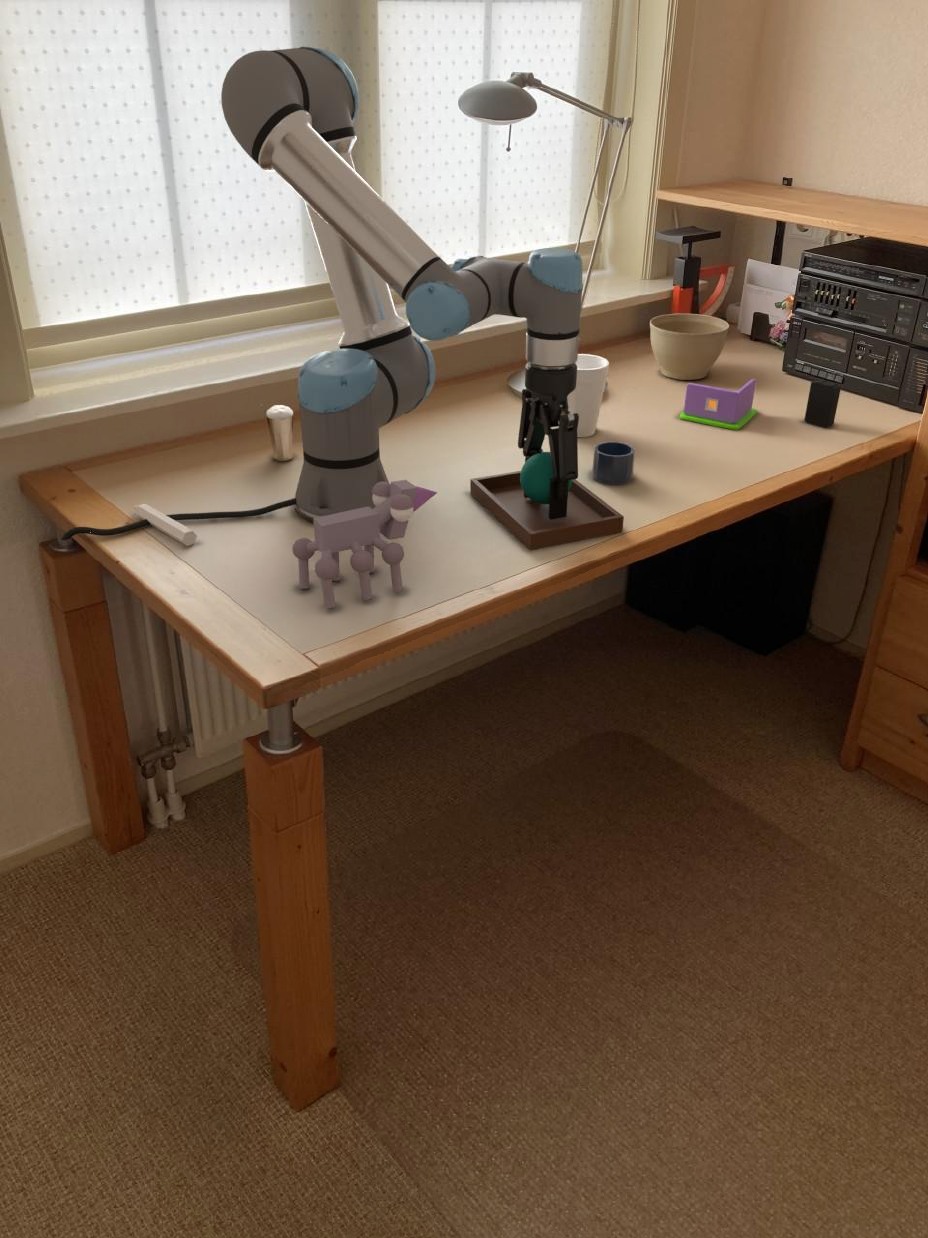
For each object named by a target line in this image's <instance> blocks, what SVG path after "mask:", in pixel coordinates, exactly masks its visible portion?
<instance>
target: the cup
mask: <svg viewBox="0 0 928 1238" xmlns="http://www.w3.org/2000/svg"><path fill="white" fill-rule="evenodd" d="M635 455H636V450H635V447H634V446H632V445H631V444H629V443H625V442H623V441H622V442H621V441H603V442H600V443H597V444H595V446H594V447H593V459H592V460H593V461H592V478H593V479H594V480H595V481H597V482H598V483H600V484H604V485H613V486H614V485H615V486H619V485H625V484H628V483H630V482H631V481H632V480H633V476H634V466H635V458H636V457H635Z"/></svg>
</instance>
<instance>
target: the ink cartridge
mask: <svg viewBox="0 0 928 1238" xmlns="http://www.w3.org/2000/svg"><path fill="white" fill-rule="evenodd" d="M809 387H810V388H809V391H808V398H807V404H806V409H805V415H804V418H803V419H804V422H805V423H807V424H810V425H813V426H817V427H820V428H825V429H828V428H830V427H831V426H833V425H834V424H835V419H836V414H837V409H838V404H839V400H840V394H841V391H842V390H841V385H839V384H838V383H836V382H831V381H827V380H825V379H815V380H813V381H811V382H810V386H809Z"/></svg>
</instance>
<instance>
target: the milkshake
mask: <svg viewBox="0 0 928 1238" xmlns="http://www.w3.org/2000/svg"><path fill="white" fill-rule="evenodd" d="M260 406H261V408H262V410H263V411H264V413H265V416H266V421H267V425H268V430H269V436H270V442H271V446H272V454H273V458H274V460H276V461H278V462H287V461H290V460H292V459H293V458H294V454H293V453H294V452H293V451H294V449H293V448H294V445H293V442H294V439H293V437H294V436H293V435H294V432H293V431H294V411H293V409H292V408H290V407H289V406H286V405H284V404H274V405H273V406H271V407H269V408H268V409H267V410H265V409H264V407H263V405H262V404H260Z"/></svg>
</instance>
